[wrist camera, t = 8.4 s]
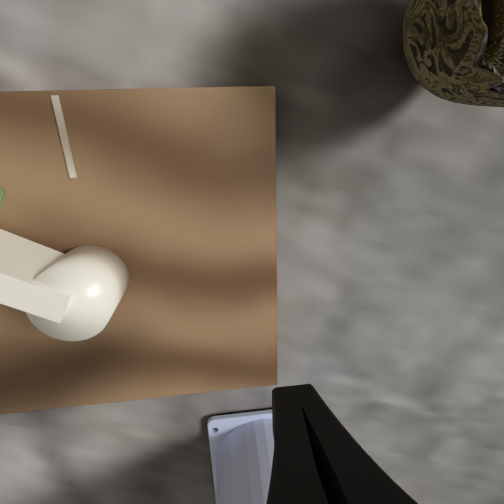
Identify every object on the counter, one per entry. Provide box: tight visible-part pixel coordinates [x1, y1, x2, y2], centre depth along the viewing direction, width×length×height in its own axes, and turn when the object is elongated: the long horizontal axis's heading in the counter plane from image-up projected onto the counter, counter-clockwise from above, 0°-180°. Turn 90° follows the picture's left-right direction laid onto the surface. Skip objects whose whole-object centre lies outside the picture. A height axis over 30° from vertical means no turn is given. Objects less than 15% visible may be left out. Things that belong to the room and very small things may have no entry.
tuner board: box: [0, 86, 277, 414], centre depth 18 cm, size 18×20×1 cm
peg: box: [0, 229, 129, 341], centre depth 14 cm, size 10×4×4 cm, turn 62°
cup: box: [400, 0, 504, 107], centre depth 12 cm, size 8×7×8 cm
